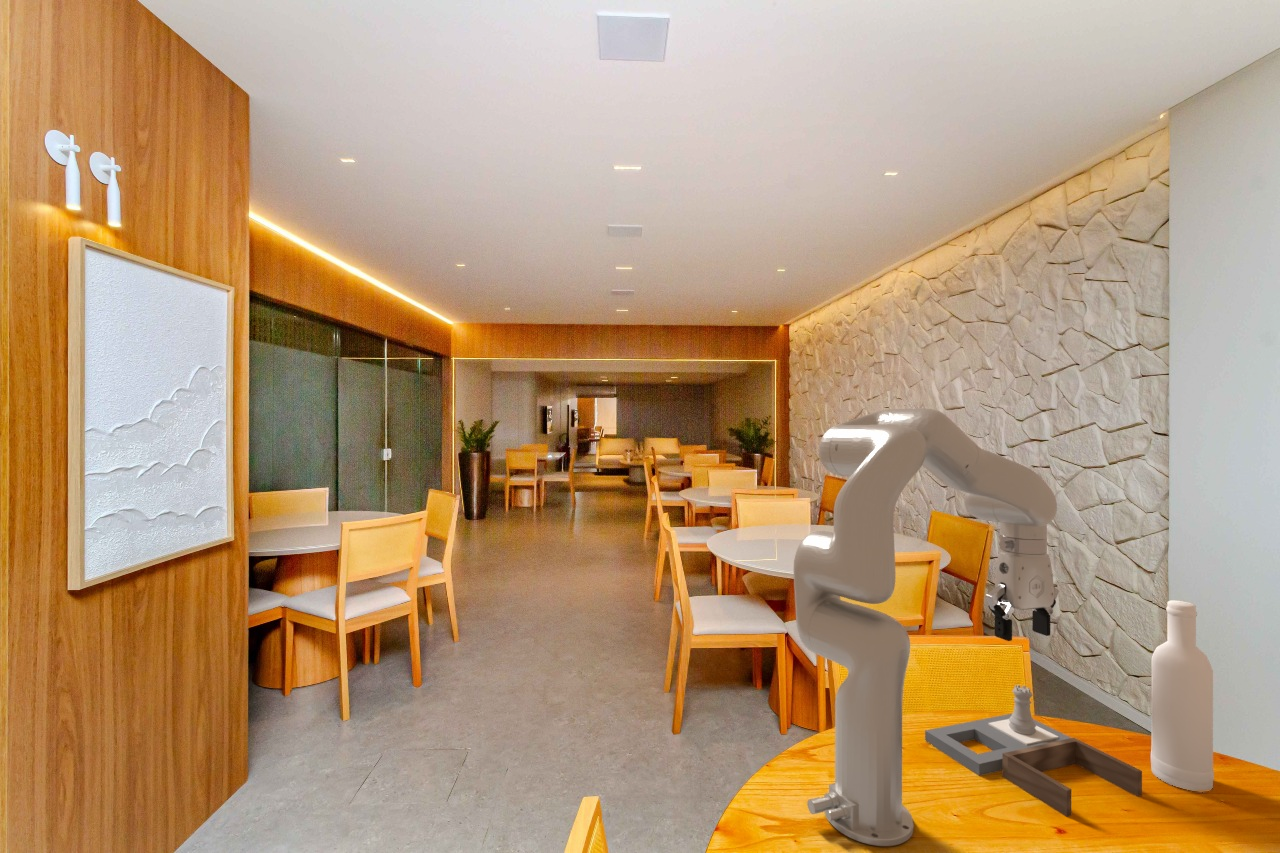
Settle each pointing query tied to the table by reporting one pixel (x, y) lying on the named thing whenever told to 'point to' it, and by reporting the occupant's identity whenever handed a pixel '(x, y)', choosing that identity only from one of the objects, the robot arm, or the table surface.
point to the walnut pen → (1034, 760)
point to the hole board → (988, 741)
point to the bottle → (1182, 705)
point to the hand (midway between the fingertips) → (1022, 636)
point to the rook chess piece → (1022, 712)
